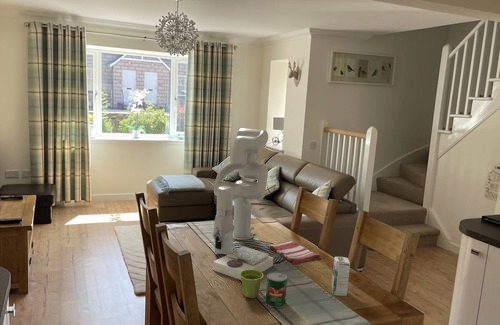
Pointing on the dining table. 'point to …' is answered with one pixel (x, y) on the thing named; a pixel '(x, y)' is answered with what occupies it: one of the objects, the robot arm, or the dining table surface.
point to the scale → (239, 266)
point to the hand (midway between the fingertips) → (223, 245)
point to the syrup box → (340, 276)
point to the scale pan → (248, 255)
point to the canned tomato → (276, 289)
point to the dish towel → (293, 252)
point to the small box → (226, 243)
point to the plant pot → (251, 282)
